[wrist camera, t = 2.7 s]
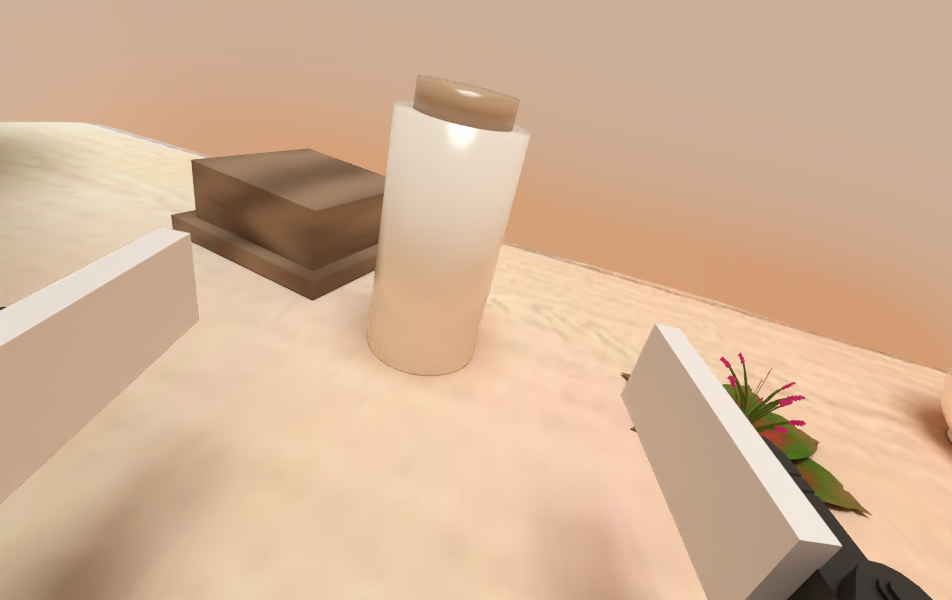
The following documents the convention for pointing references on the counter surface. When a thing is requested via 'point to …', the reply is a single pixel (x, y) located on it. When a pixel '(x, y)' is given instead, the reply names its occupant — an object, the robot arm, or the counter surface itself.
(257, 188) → the pedestal
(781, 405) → the lily flower
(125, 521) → the counter surface
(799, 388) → the counter surface
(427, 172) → the canister
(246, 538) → the counter surface
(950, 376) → the lidded jar
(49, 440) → the robot arm
